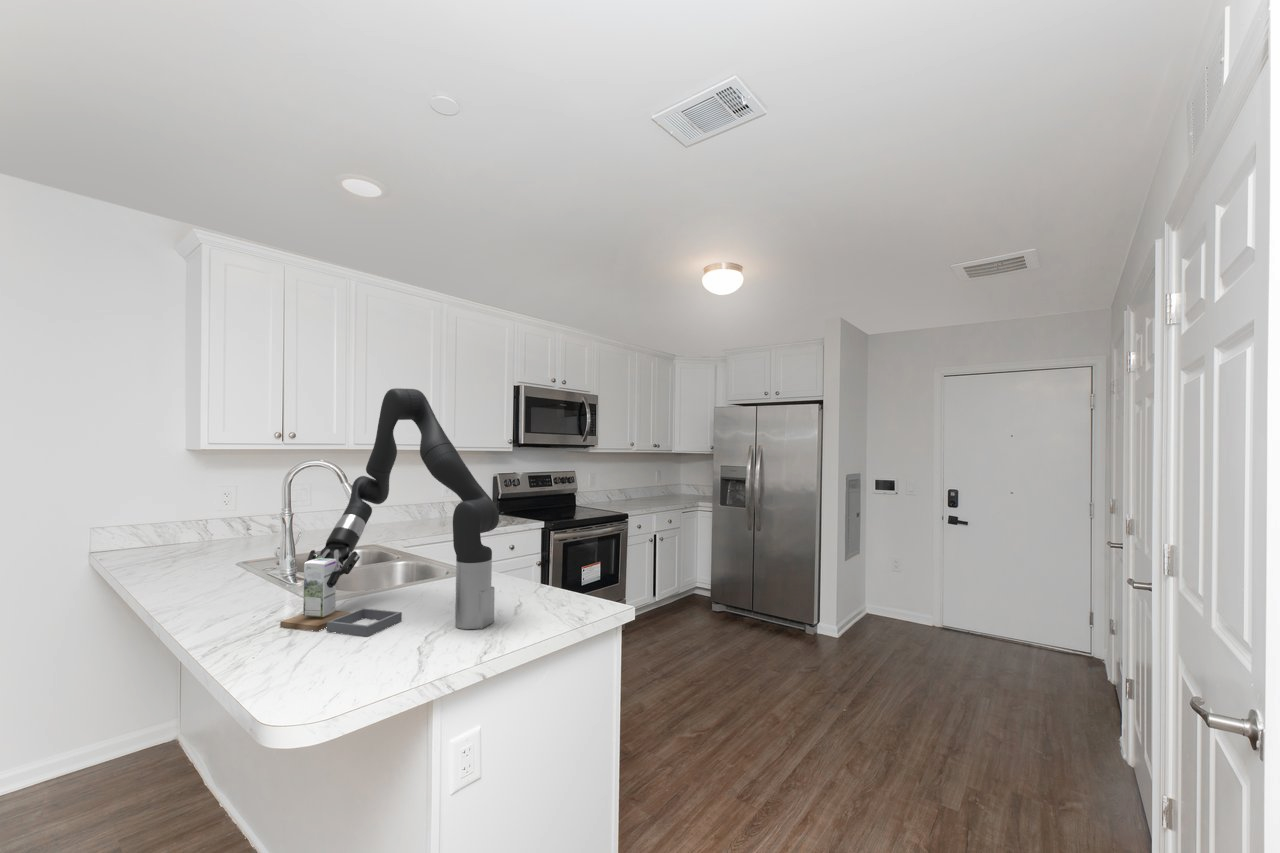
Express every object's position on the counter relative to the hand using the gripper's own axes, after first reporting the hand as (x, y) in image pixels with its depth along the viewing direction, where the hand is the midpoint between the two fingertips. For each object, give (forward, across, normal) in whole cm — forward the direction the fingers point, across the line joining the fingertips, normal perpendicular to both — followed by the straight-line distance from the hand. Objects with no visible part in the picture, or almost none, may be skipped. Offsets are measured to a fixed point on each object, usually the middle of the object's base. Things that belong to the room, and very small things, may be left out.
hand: (318, 585), depth 150 cm
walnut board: (+7, 0, +8) cm, 10 cm away
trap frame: (+8, +14, +6) cm, 17 cm away
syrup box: (+5, 0, +6) cm, 8 cm away
